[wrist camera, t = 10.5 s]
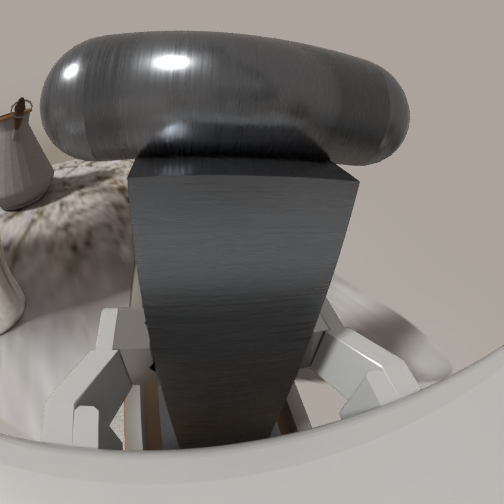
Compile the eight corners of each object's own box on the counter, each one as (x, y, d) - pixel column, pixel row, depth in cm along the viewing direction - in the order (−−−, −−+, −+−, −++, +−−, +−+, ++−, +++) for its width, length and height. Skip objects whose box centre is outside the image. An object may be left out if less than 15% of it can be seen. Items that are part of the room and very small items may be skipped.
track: (140, 529, 8) (127, 526, 7) (141, 243, 27) (139, 219, 26) (327, 501, 10) (345, 493, 9) (233, 239, 29) (235, 216, 28)
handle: (142, 477, 9) (-30, 45, 1) (140, 296, 19) (127, 60, 11) (307, 456, 11) (491, 96, 3) (248, 289, 21) (277, 64, 13)
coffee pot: (-11, 200, 32) (-24, 109, 24) (48, 178, 40) (41, 90, 32) (-2, 261, 22) (-34, 115, 13) (88, 223, 29) (77, 85, 21)
